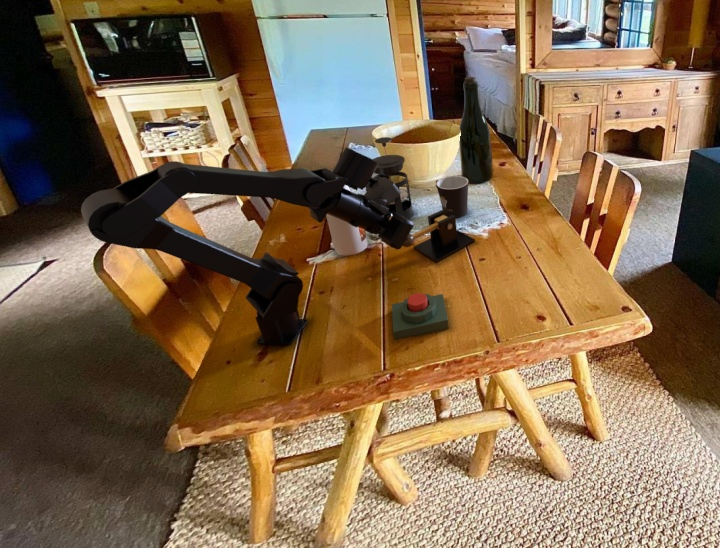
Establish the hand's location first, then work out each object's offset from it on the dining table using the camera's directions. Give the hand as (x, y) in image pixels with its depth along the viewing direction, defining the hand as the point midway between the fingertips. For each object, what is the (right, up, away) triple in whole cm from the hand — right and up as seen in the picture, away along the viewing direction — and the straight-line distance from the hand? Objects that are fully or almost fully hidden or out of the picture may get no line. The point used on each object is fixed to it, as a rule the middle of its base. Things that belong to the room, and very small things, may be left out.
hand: (405, 232), depth 99 cm
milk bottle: (-17, -5, +10) cm, 20 cm away
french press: (-11, +2, +24) cm, 27 cm away
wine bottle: (+9, +14, +48) cm, 51 cm away
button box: (+7, -16, -13) cm, 22 cm away
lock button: (+7, -13, -14) cm, 20 cm away
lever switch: (+6, -4, +11) cm, 13 cm away
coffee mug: (+6, +4, +27) cm, 28 cm away
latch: (+3, -1, +5) cm, 6 cm away
